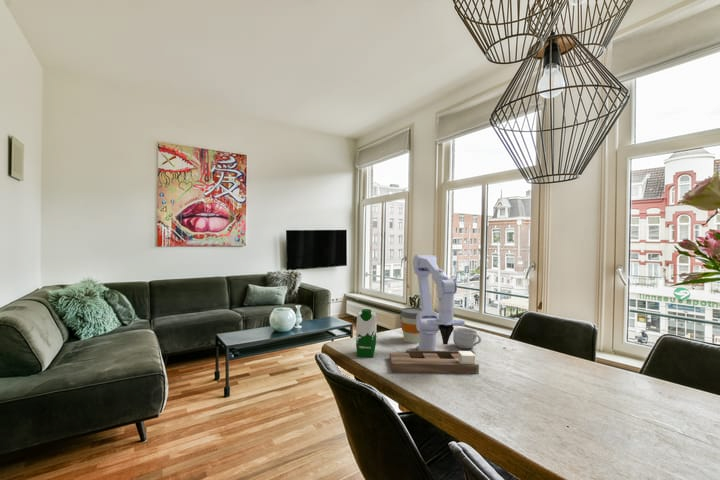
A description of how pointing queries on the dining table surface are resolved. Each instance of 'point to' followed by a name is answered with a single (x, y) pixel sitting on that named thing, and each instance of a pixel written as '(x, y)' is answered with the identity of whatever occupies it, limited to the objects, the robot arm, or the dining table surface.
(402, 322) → the reusable coffee cup
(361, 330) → the milk carton
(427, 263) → the robot arm
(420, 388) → the dining table surface
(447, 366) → the trap box
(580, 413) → the dining table surface
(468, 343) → the teacup
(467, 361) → the block
